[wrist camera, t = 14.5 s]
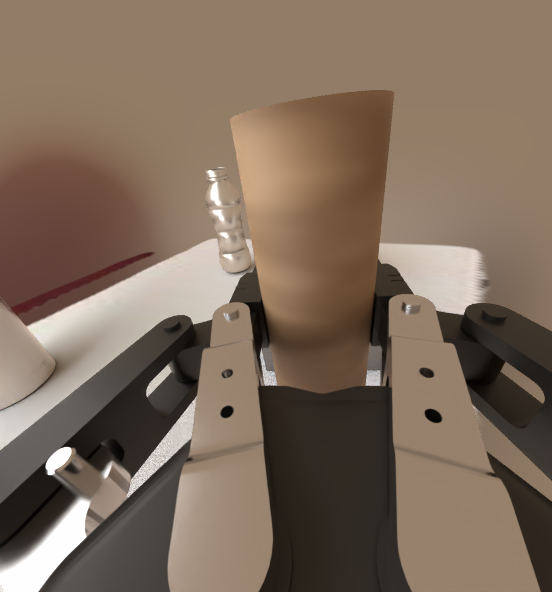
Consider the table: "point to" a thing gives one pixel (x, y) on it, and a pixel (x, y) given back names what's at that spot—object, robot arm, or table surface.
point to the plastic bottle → (227, 221)
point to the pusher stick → (316, 229)
